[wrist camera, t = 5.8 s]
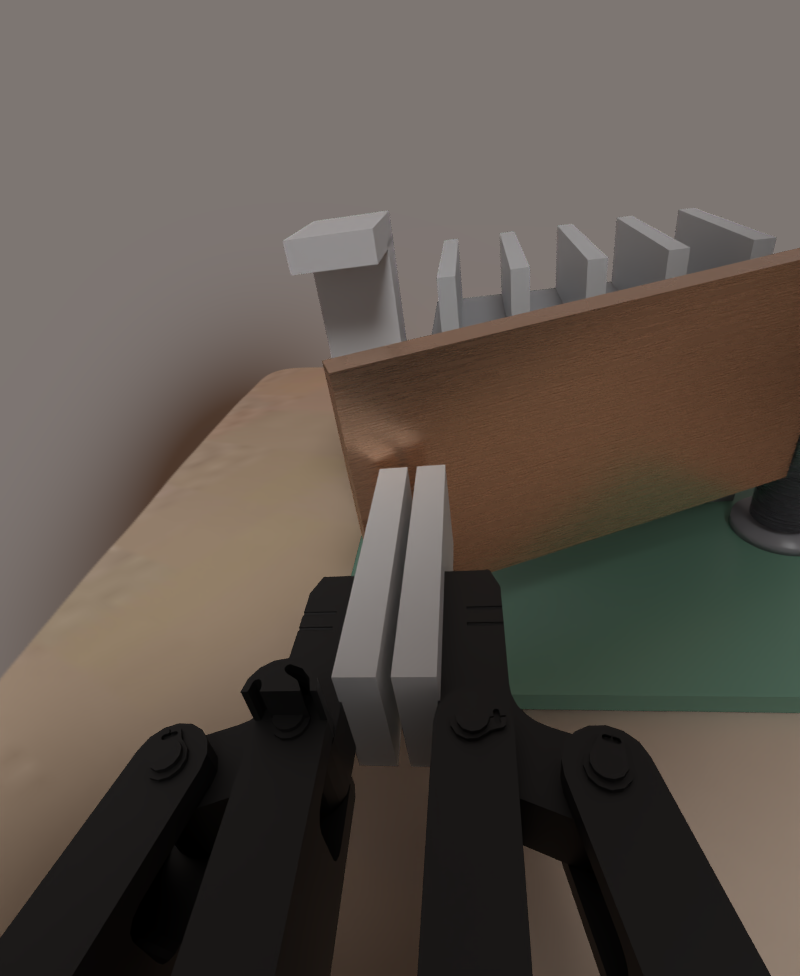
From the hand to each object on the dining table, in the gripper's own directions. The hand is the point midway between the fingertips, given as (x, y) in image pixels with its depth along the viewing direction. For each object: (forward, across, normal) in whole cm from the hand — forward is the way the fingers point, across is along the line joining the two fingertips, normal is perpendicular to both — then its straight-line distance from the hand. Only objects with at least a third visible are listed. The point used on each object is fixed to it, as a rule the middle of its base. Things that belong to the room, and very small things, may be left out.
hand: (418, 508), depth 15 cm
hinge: (+4, +7, -6) cm, 10 cm away
